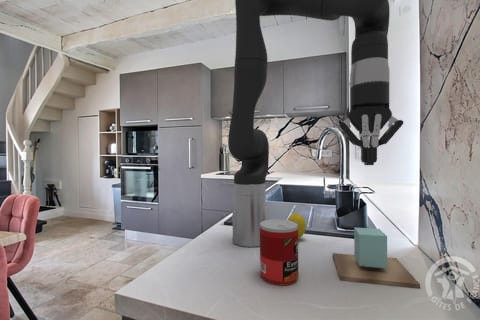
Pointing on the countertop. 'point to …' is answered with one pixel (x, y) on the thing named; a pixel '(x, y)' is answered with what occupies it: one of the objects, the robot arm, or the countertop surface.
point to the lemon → (298, 223)
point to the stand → (374, 272)
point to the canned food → (279, 251)
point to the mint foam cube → (370, 247)
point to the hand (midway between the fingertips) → (369, 164)
